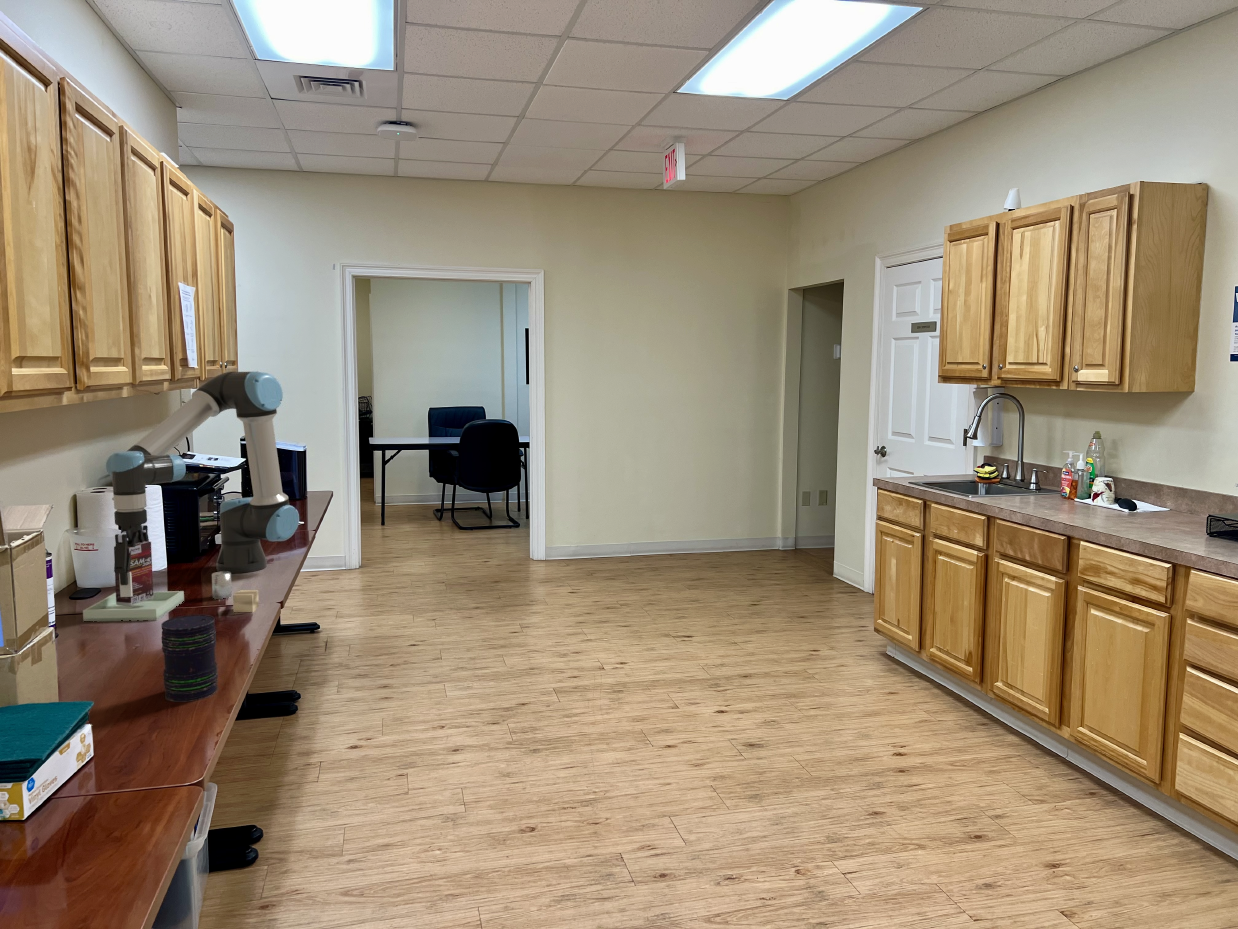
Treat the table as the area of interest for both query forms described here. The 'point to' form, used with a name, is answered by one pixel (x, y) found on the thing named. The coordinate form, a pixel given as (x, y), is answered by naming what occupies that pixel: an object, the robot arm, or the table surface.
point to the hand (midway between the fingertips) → (135, 591)
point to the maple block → (245, 601)
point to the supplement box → (138, 575)
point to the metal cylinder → (221, 585)
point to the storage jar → (189, 657)
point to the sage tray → (134, 608)
